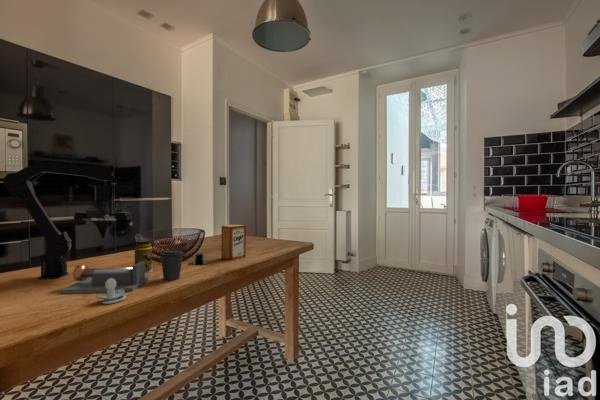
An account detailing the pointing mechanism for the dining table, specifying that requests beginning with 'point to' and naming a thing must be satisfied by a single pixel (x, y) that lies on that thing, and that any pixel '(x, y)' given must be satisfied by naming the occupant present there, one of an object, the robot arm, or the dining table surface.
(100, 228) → the robot arm
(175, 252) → the coffee cup
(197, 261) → the black block
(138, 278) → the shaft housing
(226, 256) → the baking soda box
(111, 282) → the pacifier
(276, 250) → the dining table surface
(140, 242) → the condiment
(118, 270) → the shaft
